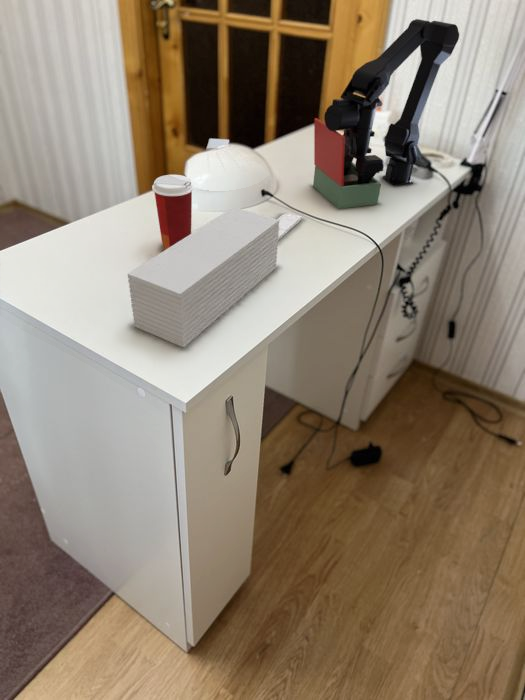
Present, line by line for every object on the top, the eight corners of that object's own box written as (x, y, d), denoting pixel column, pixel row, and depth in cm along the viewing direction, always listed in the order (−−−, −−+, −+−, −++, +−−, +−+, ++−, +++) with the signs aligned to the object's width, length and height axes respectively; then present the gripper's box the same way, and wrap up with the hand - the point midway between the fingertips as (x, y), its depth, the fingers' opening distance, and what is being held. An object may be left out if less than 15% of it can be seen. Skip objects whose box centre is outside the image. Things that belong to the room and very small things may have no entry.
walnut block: (352, 188, 144) (354, 174, 142) (359, 194, 141) (361, 179, 139) (335, 190, 143) (337, 176, 140) (342, 196, 140) (344, 181, 137)
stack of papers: (233, 253, 115) (233, 206, 108) (276, 267, 111) (279, 220, 104) (134, 326, 93) (127, 273, 86) (183, 347, 89) (180, 293, 82)
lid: (316, 117, 134) (314, 118, 134) (345, 136, 123) (342, 137, 123) (316, 164, 142) (314, 164, 142) (343, 185, 131) (341, 186, 131)
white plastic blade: (254, 239, 120) (254, 234, 120) (283, 215, 131) (283, 211, 130) (273, 244, 119) (274, 239, 118) (301, 220, 129) (302, 215, 128)
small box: (227, 188, 142) (227, 148, 136) (206, 187, 142) (205, 147, 136) (229, 177, 148) (230, 138, 142) (209, 176, 148) (209, 137, 142)
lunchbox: (349, 182, 150) (352, 162, 146) (377, 204, 139) (381, 182, 135) (312, 186, 146) (315, 165, 143) (338, 209, 135) (341, 187, 132)
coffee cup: (202, 243, 118) (199, 177, 108) (185, 260, 112) (182, 191, 102) (168, 236, 120) (163, 170, 110) (150, 252, 114) (143, 184, 104)
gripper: (315, 116, 136) (308, 176, 146) (350, 139, 122) (340, 203, 132) (353, 115, 139) (344, 173, 149) (391, 136, 126) (378, 199, 136)
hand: (350, 186), depth 141 cm, fingers open, 9 cm apart
